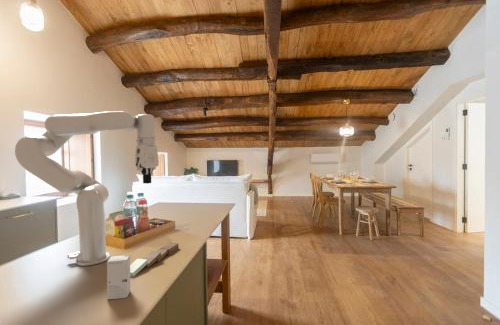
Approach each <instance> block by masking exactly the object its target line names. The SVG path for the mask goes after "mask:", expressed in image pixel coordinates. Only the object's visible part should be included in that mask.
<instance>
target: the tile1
mask: <svg viewBox="0 0 500 325" xmlns="http://www.w3.org/2000/svg"><path fill="white" fill-rule="evenodd" d="M156 251H157V250H151V251H150V252H149V253H148V254H146V256H145V257H143V258H142V259H146V260H148V264H147V265H146V266H145V267H144V268H146V269H150V268H151V266H152V265H154V263H156V262H155V261H156V260H157V259H158V258H159V257H160V256H161V252H156Z"/></svg>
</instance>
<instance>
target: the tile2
mask: <svg viewBox="0 0 500 325" xmlns="http://www.w3.org/2000/svg"><path fill="white" fill-rule="evenodd" d="M155 251H156V252H161V256H160V257H159V258H158V259H157V260H156V261H155V262H154V263H159V262H160V261H161V260H162V259H163V258H165V257H166V256H167V255H166V254H168V249H160V248H158V249H157V250H155Z"/></svg>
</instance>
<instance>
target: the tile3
mask: <svg viewBox="0 0 500 325" xmlns="http://www.w3.org/2000/svg"><path fill="white" fill-rule="evenodd" d="M177 247H179V243H178V242H168V243H166V244H165V245H163V246H162V247H160V248H159V249H168V253H170V252H171V251H173V250H174V249H176V248H177Z"/></svg>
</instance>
